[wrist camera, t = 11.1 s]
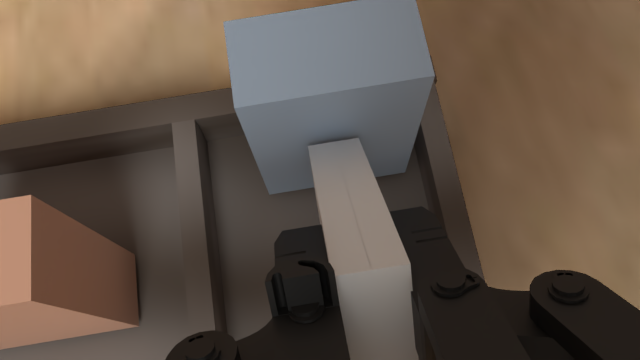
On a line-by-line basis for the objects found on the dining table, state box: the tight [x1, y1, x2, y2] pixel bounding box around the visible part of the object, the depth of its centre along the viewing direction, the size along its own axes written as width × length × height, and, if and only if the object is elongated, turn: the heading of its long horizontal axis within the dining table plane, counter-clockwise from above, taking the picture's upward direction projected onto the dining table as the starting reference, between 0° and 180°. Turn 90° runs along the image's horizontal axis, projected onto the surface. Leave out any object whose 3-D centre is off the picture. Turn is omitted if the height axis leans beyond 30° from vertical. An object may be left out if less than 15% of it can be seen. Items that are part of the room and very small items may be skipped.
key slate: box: [224, 0, 435, 195], centre depth 18 cm, size 2×5×7 cm, turn 99°
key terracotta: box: [0, 195, 139, 350], centre depth 17 cm, size 2×5×7 cm, turn 99°
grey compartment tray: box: [0, 55, 485, 360], centre depth 20 cm, size 12×28×4 cm, turn 99°
